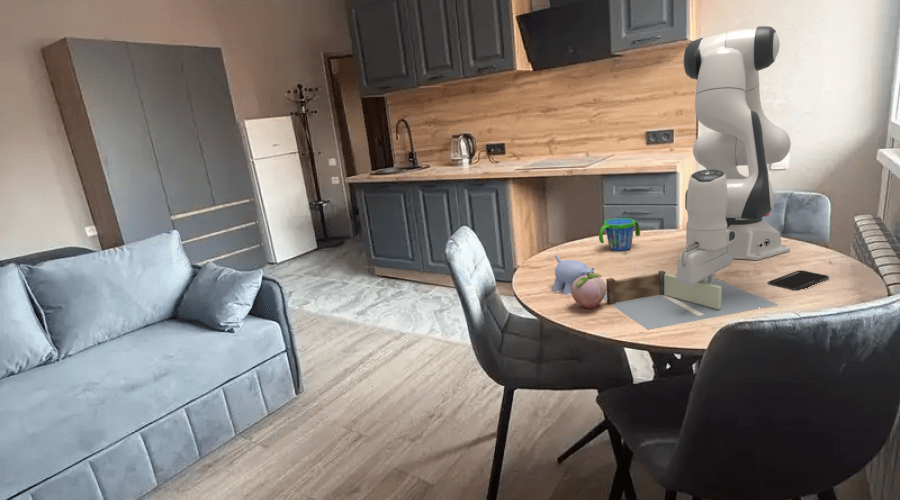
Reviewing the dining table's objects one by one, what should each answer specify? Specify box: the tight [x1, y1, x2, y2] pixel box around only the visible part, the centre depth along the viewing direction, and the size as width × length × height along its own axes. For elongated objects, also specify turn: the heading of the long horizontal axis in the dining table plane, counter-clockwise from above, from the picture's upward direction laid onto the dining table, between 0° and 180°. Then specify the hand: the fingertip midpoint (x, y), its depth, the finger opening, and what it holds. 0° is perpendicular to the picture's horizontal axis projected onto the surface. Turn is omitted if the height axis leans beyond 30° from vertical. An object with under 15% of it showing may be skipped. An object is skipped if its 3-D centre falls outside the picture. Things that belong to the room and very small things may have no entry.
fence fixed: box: [605, 270, 666, 305], centre depth 131 cm, size 16×2×7 cm, turn 100°
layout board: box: [603, 277, 779, 331], centre depth 128 cm, size 34×26×1 cm
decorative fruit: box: [571, 272, 607, 309], centre depth 129 cm, size 9×8×10 cm
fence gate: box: [664, 273, 722, 309], centre depth 125 cm, size 15×1×6 cm, turn 31°
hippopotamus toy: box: [551, 255, 595, 296], centre depth 143 cm, size 11×15×10 cm
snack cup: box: [598, 217, 641, 252], centre depth 177 cm, size 16×10×10 cm
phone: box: [767, 270, 830, 292], centre depth 131 cm, size 8×1×15 cm
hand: (705, 291), depth 124 cm, fingers closed
